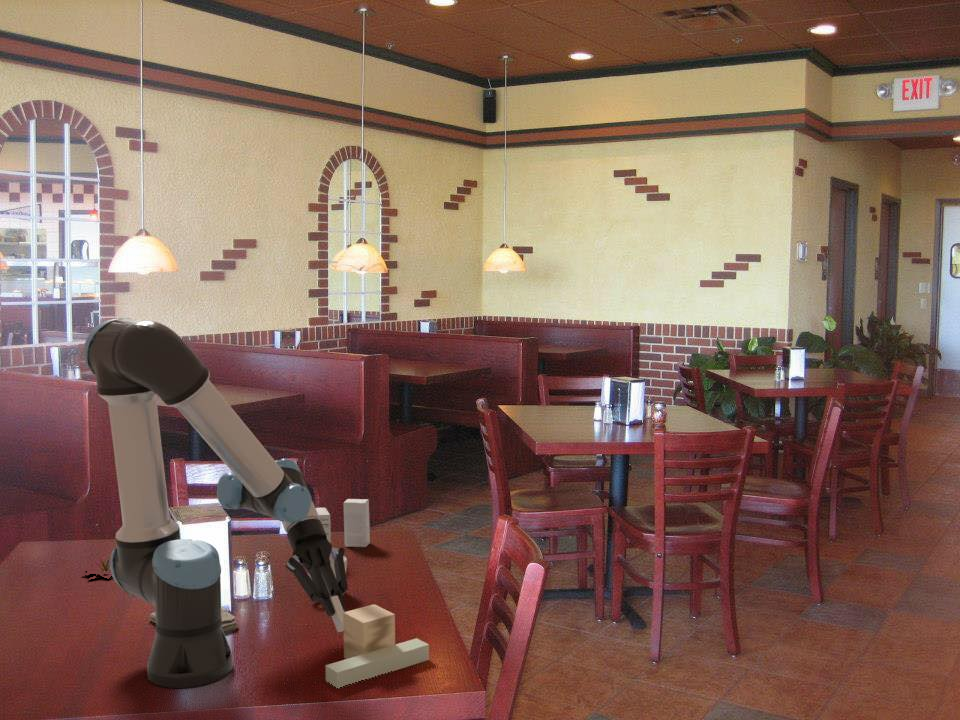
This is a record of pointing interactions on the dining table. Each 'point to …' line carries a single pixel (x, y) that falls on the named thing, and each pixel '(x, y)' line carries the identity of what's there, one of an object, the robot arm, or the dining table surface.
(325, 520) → the supplement box
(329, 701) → the dining table surface
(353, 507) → the skincare box
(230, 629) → the washcloth
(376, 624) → the block
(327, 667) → the pale grey bar
